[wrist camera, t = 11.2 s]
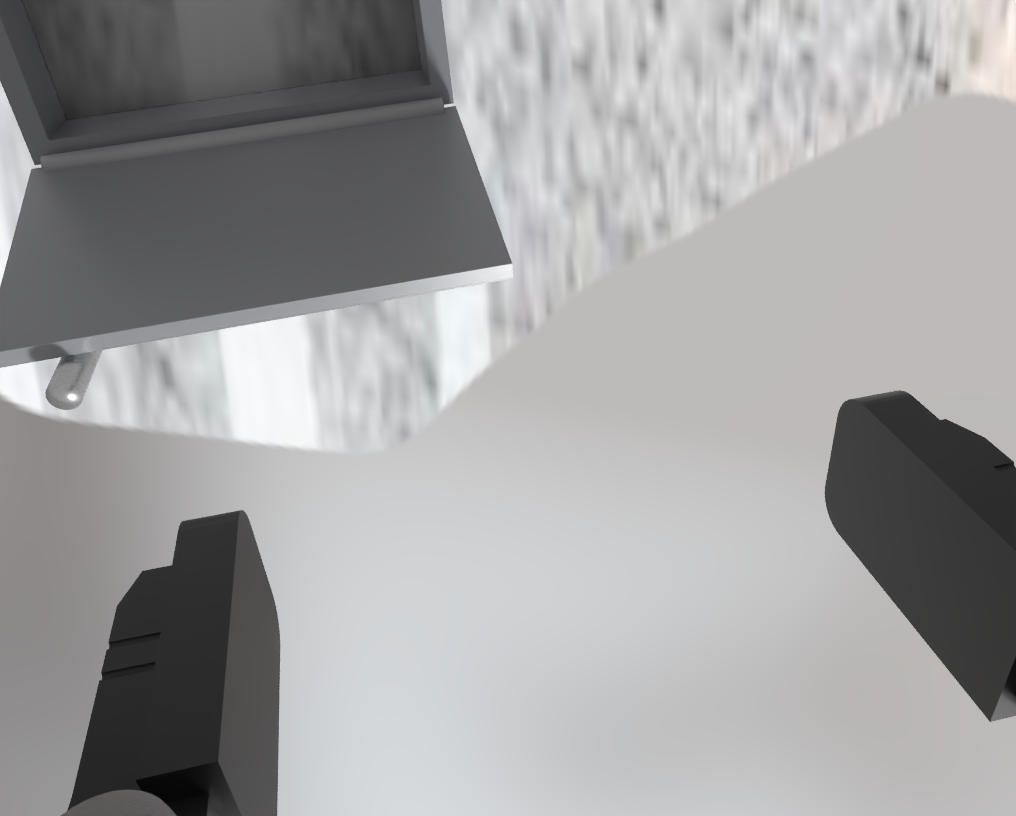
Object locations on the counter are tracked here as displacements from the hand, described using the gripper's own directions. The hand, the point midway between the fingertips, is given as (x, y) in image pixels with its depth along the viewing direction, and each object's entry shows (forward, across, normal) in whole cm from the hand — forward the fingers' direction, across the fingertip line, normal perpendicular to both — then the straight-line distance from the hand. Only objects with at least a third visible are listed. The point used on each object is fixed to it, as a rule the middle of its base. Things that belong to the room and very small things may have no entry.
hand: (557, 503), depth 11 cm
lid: (+21, +5, +2) cm, 22 cm away
